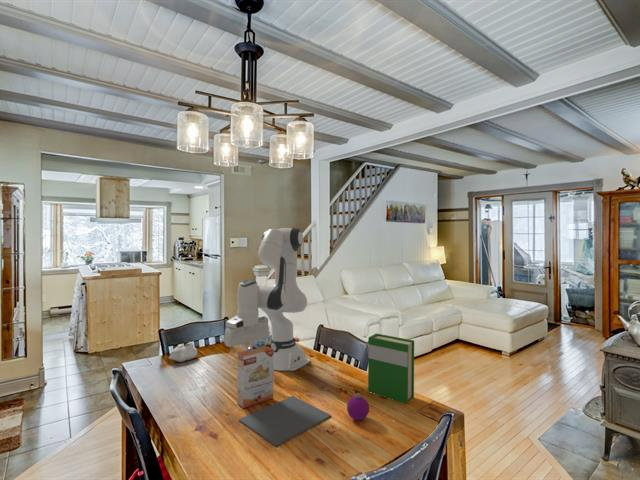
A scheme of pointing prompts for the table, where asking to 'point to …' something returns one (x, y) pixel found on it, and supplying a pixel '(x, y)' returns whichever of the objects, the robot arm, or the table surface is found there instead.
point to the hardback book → (391, 367)
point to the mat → (284, 420)
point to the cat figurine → (183, 352)
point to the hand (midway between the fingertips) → (247, 352)
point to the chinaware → (262, 341)
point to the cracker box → (255, 376)
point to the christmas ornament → (358, 407)
